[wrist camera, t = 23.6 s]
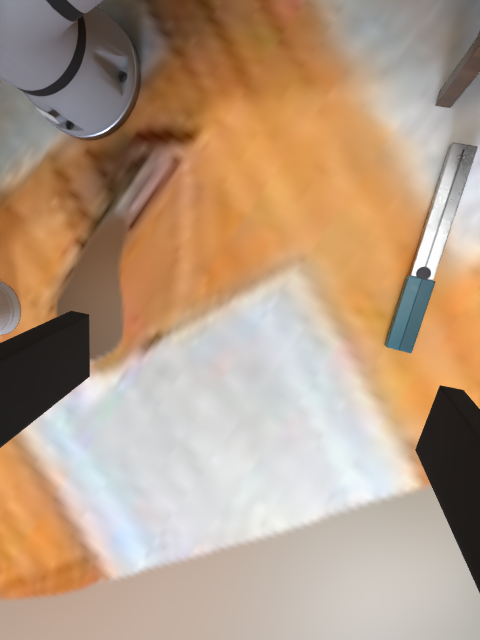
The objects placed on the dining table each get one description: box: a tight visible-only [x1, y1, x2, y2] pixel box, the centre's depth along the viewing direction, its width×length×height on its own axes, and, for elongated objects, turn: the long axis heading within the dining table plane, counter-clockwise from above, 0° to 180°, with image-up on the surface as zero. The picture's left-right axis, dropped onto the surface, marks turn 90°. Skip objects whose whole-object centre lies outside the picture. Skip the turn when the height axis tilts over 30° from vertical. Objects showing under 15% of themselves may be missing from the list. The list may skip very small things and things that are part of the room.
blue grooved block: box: [385, 143, 478, 353], centre depth 41 cm, size 24×3×1 cm, turn 167°
